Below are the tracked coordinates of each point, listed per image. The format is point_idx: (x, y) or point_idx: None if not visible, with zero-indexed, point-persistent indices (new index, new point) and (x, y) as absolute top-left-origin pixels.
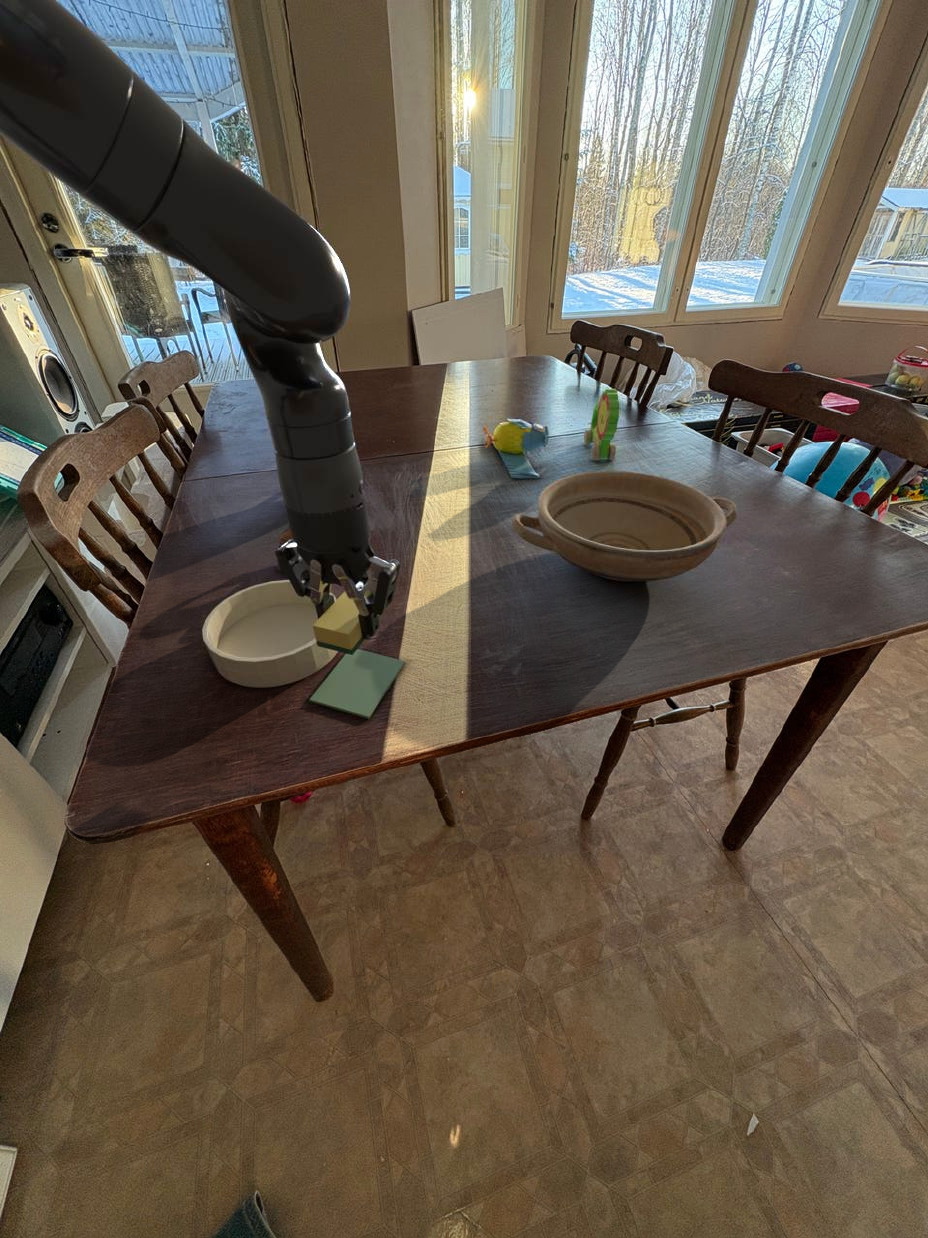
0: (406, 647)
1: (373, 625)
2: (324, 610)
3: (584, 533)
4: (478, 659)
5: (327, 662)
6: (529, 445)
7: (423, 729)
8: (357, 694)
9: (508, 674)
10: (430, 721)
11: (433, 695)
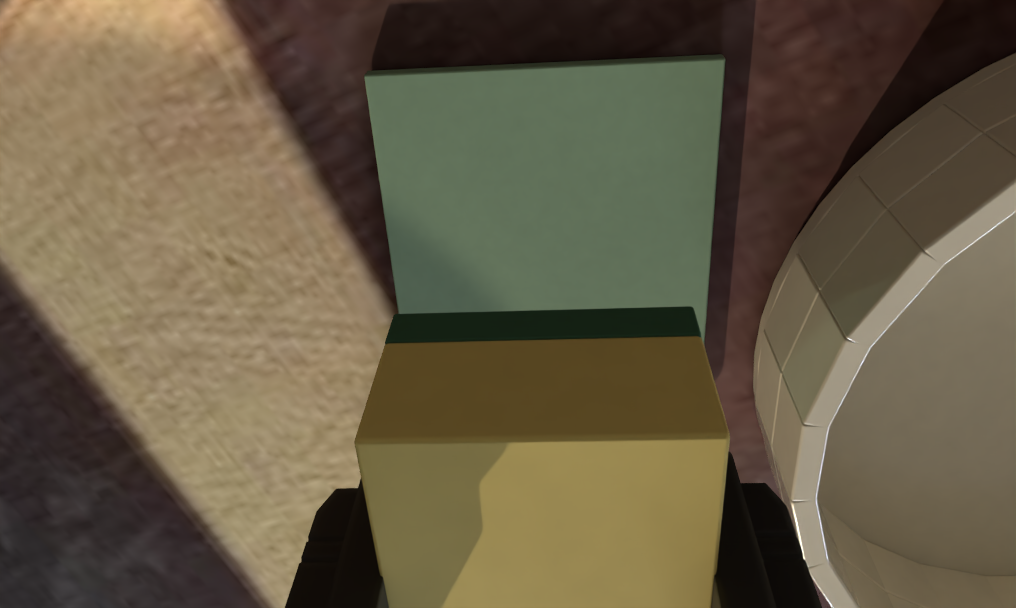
0: None
1: (302, 570)
2: (716, 599)
3: None
4: (158, 520)
5: (766, 308)
6: None
7: (98, 116)
8: (501, 182)
9: (8, 490)
10: (103, 170)
11: (192, 304)
